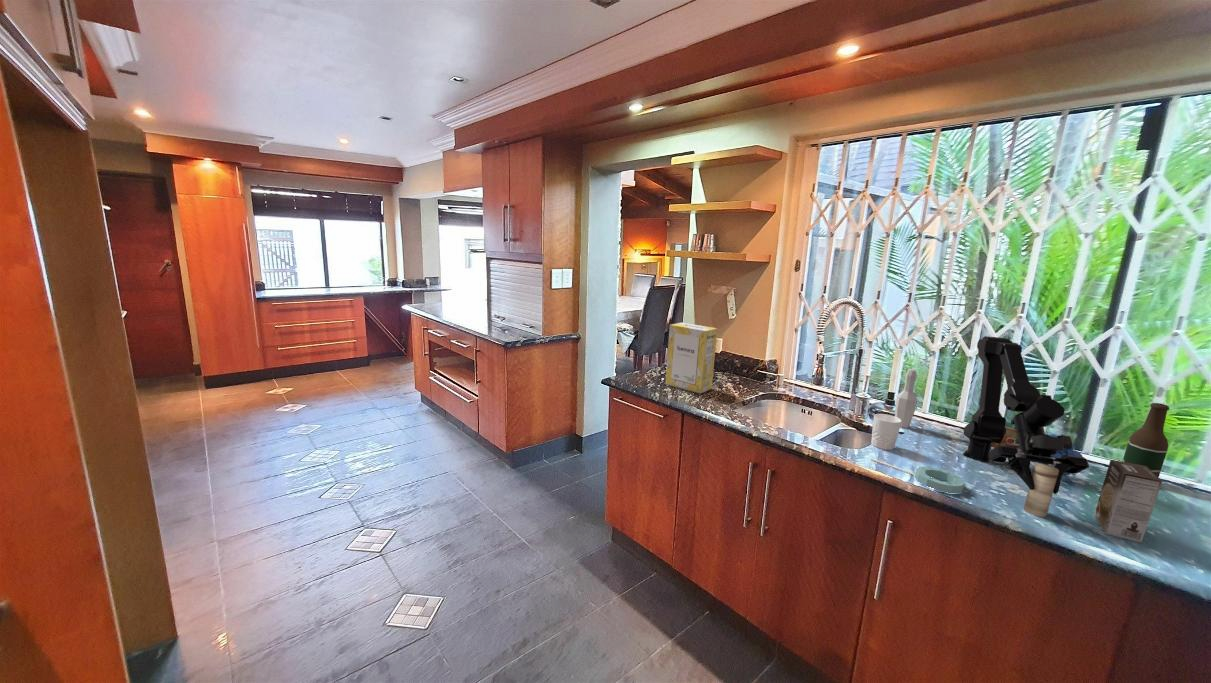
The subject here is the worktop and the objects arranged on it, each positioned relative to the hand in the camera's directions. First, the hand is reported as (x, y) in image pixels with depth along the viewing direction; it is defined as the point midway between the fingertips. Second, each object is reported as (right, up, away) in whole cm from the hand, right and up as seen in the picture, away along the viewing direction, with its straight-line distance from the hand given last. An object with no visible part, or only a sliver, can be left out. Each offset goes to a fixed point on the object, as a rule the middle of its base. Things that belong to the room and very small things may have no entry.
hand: (1044, 491), depth 115 cm
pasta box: (-72, +17, +96) cm, 121 cm away
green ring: (-16, -3, +15) cm, 22 cm away
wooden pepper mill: (0, -6, +3) cm, 7 cm away
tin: (+23, +1, +43) cm, 48 cm away
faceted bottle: (+2, +6, +59) cm, 59 cm away
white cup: (-17, +2, +40) cm, 43 cm away
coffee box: (+14, -8, -3) cm, 17 cm away
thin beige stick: (-23, -1, +24) cm, 33 cm away
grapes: (+26, -3, +25) cm, 36 cm away
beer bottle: (+50, -4, +23) cm, 56 cm away
